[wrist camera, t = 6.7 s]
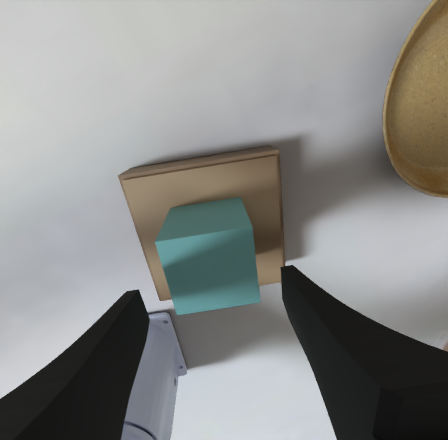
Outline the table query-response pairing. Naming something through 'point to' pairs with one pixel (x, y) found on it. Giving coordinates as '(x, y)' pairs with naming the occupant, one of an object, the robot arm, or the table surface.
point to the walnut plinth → (206, 192)
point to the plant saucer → (420, 105)
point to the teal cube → (209, 256)
